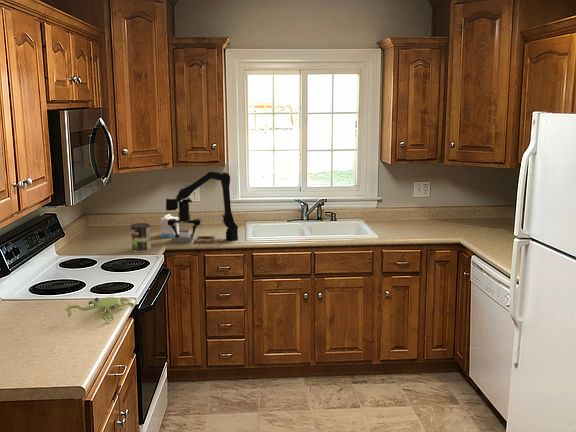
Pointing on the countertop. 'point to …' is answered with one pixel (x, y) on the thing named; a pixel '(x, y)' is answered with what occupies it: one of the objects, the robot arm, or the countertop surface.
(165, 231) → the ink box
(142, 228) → the coffee can
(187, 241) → the grey drawer cabinet
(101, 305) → the figurine
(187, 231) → the grey-fronted drawer box
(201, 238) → the walnut tray
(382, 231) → the countertop surface
